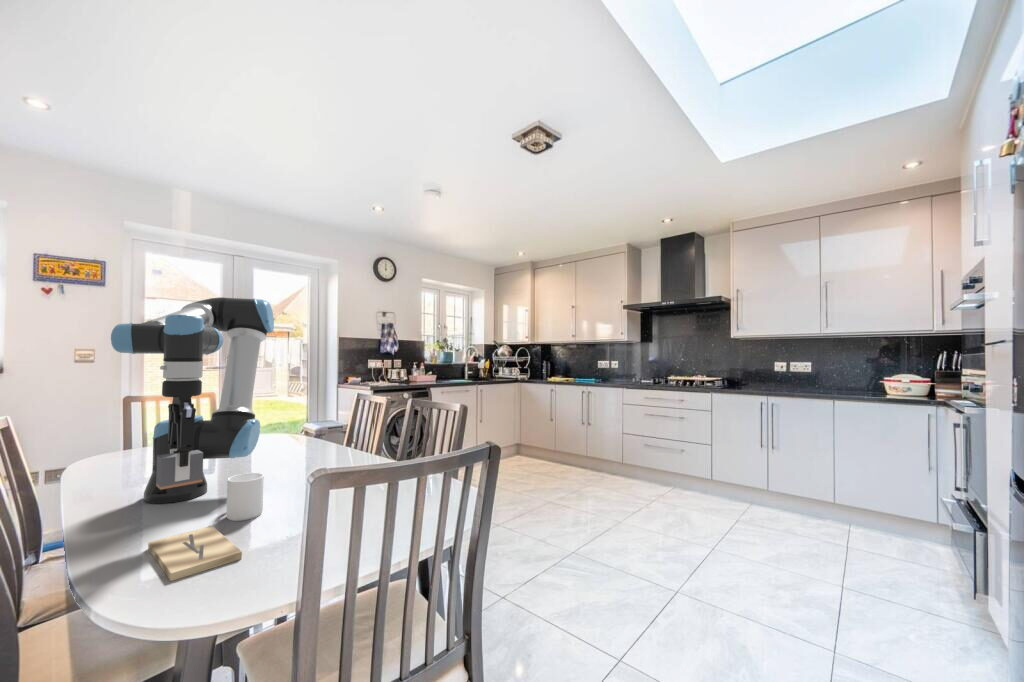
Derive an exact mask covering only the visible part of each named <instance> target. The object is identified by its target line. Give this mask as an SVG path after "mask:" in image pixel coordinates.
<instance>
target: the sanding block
mask: <svg viewBox="0 0 1024 682" xmlns="http://www.w3.org/2000/svg"><path fill="white" fill-rule="evenodd" d="M203 473H204V459H203V452H201V451H199V450H193V451H191V452H190V479H187V480H182V481H176V482H175V481H174V480H175V454H173V453H172V454H164V455H157V473H156V486H157V487H158V488H159V489H160V490H161V489H167V488H172V487H178V486H183V485H188V484H194V483H199V482H203Z"/></svg>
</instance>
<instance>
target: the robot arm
mask: <svg viewBox="0 0 1024 682" xmlns="http://www.w3.org/2000/svg"><path fill="white" fill-rule="evenodd" d="M274 329H275V319H274V313H273V308H272V305H271V304H270V301H268V300H266V299H259V298H242V297H241V298H238V297H237V298H235V297H211V298H207V299H202V300H198V301H197V300H196V301H194V302H191V303H188V304H185V305H184V306H182V308H181V309H180V310H177V311H174V312H172V313H168V314H165V315H163V316H160V317H159V316H158V317H156V318H153V319H151V320H147V321H145V322H141V323H132V322H129V323H119V324H117V325H115V326H114V327H113V329H112V331H111V332H110V341H111V342H110V343H111V347H112V348H113V350H114V351H116V352H118V353H120V354H131V355H135V354H139V355H141V354H142V355H143V354H145V355H146V354H150V355H151V354H152V355H153V354H154V355H156V354H161V355H163V359H162V360H163V364H162V365H160V366H159V369H160V370H161V371H162V378H163V379H165V380H164V381H162V382H161V383H162V385H161V386H162V388H161V389H162V390H161V395H162V396H163V397H165V398H172V400H171V401H172V402H171V403H168V406H167V408H168V419H167V420H162V421H160V422H158V423H156V425H154V430H153V437H152V469H151V470H152V472H151V475H150V477H149V480H148V482H147V484H146V486H145V489H144V492H143V499H142V500H143V502H145V503H147V504H169V503H176V502H182V501H187V500H192V499H194V498H197V497H200V496H202V495H203V496H204V495H205V494H206V493H207V492H208V481H207V479H206V477H205V473H204V472H203V482H199V483H194V484H188V485H183V486H178V487H172V488H167V489H161V490H160V489H159V488H158V487H157V486H156V473H157V455H164V454H172V453H173V454H175V480H174V481H175V482H176V481H182V480H187V479H190V452H191V451H193V450H199V451H201V452H203V460H212V459H213V460H216V459H235V458H236V459H237V458H244V457H247V456H250V455H251V454H252V453H253V452H254V450H255V448H256V447H257V444H258V442H259V438H260V432H261V430H260V428H261V423H260V420H259V419H256V414H255V413H254V411H252V409H251V408H252V402H253V395H254V390H255V382H256V375H257V368H258V361H259V353H260V347H261V342H264V341H265V340H266V339H267V334H271V333H273V332H274ZM222 332H226V335H227V337H228V338H229V339H230V343H229V349H228V355H227V361H226V366H225V372H224V379H223V383H222V390H221V395H220V401H219V405H218V409H216V410H215V411H213V412H212V413H211V419H208V420H204V417H203V415H201V414H200V415H199V414H198V415H196V412H197V409H196V407H195V405H194V403H192V397H198V396H200V395H201V394H202V391H203V390H202V387H203V381H202V380H201V379H200V378H203V365H204V364H203V363H204V361H203V358H204V355H206V356H207V355H210V354H214V353H217V352H218V351H219V350H220V349H221V348H222V347H223V344H224V337H223V333H222Z"/></svg>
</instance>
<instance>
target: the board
mask: <svg viewBox="0 0 1024 682" xmlns="http://www.w3.org/2000/svg"><path fill="white" fill-rule="evenodd" d="M147 543H148V544H147V545H148V546H147V550H148V551H149V552H150V554H151V555H152V556H153V558H154V559H155V561H156V562H157V564H158V565H159V566H160V568H161V569H162V570H163V572H164V574H165V575H166V576H167V578H168V580H169V581H170V582H174V581H176V580H179V579H183V578H186V577H188V576H192V575H196V574H198V573H201V572H205V571H207V570H211V569H214V568H217V567H220V566H223V565H228V564H230V563H232V562H237V561H239V560H242V556H243V552H242V550H240V549H239V548H238V547H237V546H236V545H235V543H232V541H230V540H229V539H228V538H227V537H226V536H225V535H224V534H222V533H221V532H220V531H219V530H217V528H215V527H214V526H213V525H210V526H206V527H203V528H198V529H195V530H190V531H186V532H183V533H178V534H175V535H172V536H171V535H170V536H167V537H163V538H160V539H156V540H151V541H148V542H147Z"/></svg>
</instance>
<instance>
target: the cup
mask: <svg viewBox="0 0 1024 682" xmlns="http://www.w3.org/2000/svg"><path fill="white" fill-rule="evenodd" d="M264 478H265V475H264V474H263V473H260V472H246V473H241V474H240V473H239V474H235V475H231V476H230V477H228V478H227V481H226V482H227V484H226V486H227V489H226V490H227V491H226V519H228V520H229V521H233V522H238V521H239V522H240V521H248V520H251V519H254V518H257V517H259V516H261V515H262V513H263V510H264V488H265V487H264V483H265V481H264Z"/></svg>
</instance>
